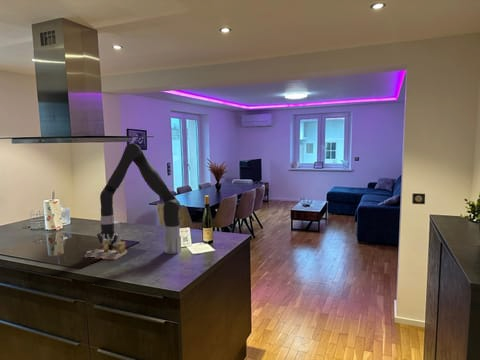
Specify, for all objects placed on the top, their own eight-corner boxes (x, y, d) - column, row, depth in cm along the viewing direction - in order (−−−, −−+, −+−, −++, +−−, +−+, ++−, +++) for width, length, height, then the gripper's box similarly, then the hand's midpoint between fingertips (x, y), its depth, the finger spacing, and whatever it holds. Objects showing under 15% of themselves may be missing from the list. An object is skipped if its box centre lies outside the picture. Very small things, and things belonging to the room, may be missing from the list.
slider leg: (112, 249, 196) (112, 240, 196) (105, 254, 188) (104, 244, 188) (108, 249, 197) (108, 240, 196) (100, 253, 189) (100, 244, 188)
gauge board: (127, 252, 197) (126, 240, 196) (115, 259, 184) (115, 247, 184) (98, 250, 201) (97, 238, 200) (84, 257, 188) (84, 245, 187)
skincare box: (114, 242, 217) (114, 220, 215) (121, 244, 213) (120, 221, 211) (104, 245, 209) (103, 223, 208) (110, 247, 206) (109, 224, 204)
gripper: (121, 221, 195) (122, 248, 197) (100, 220, 197) (101, 247, 199) (114, 224, 187) (115, 252, 189) (93, 223, 190) (94, 250, 192)
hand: (108, 249), depth 194 cm, fingers closed on slider leg, 3 cm apart
